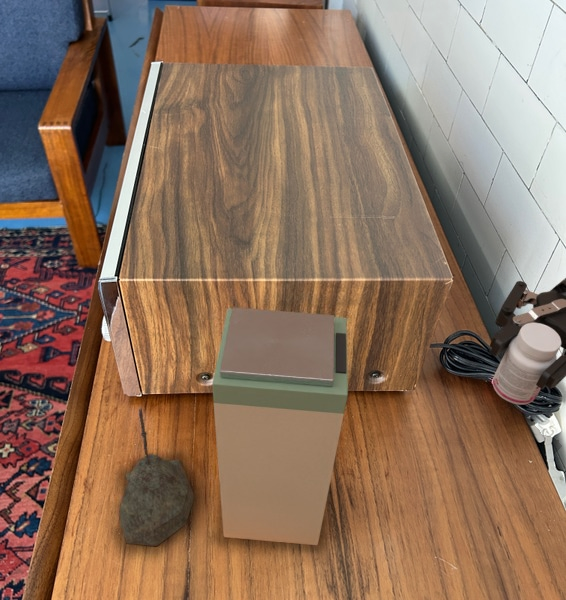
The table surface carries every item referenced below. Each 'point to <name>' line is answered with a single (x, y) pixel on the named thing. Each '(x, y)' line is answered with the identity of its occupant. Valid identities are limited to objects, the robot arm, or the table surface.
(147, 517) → the grey rough stone lump
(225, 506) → the pedestal
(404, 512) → the table surface
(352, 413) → the table surface
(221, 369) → the scale
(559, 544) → the table surface
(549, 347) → the pill bottle
